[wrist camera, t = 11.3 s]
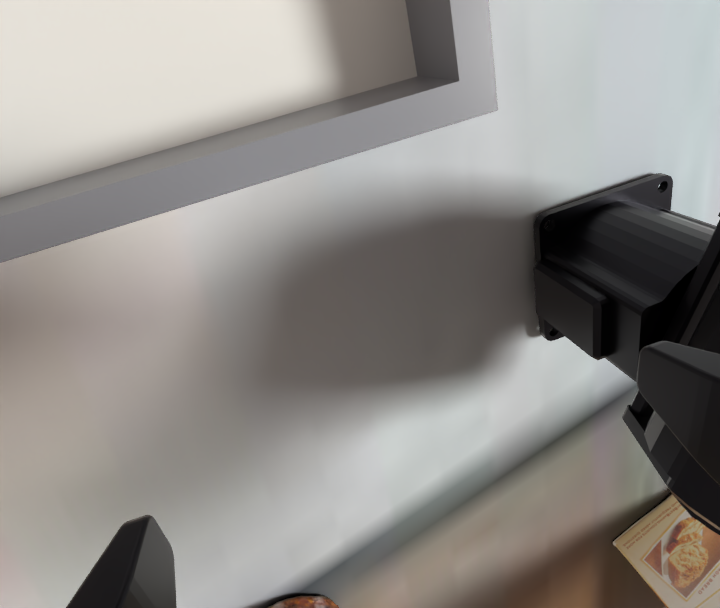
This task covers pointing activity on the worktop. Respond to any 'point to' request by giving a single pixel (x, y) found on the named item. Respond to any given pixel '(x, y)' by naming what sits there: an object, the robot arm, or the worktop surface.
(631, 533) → the coffeecake box
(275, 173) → the box
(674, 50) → the worktop surface
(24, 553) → the worktop surface
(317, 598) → the sauce bottle
